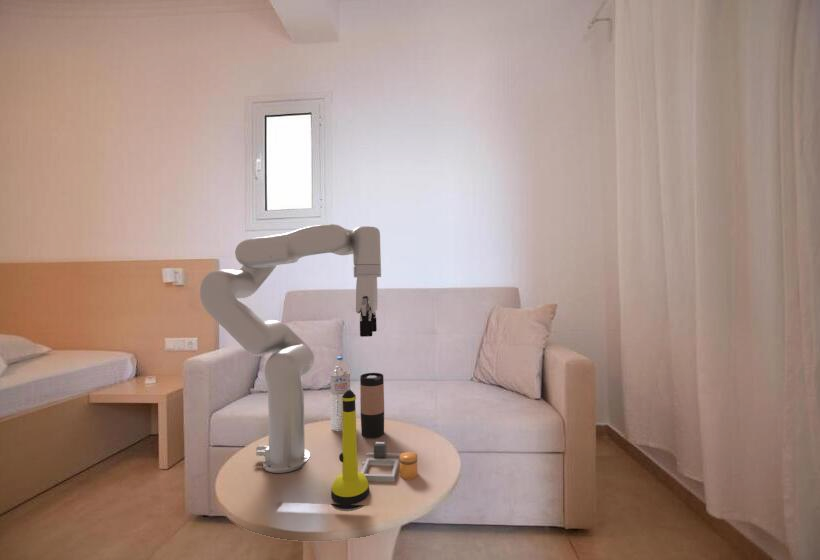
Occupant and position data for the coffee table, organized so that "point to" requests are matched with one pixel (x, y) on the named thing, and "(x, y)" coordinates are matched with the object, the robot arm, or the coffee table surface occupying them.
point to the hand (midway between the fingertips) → (368, 333)
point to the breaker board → (381, 463)
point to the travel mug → (372, 405)
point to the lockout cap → (408, 465)
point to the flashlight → (349, 463)
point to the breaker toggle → (380, 450)
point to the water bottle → (338, 392)
